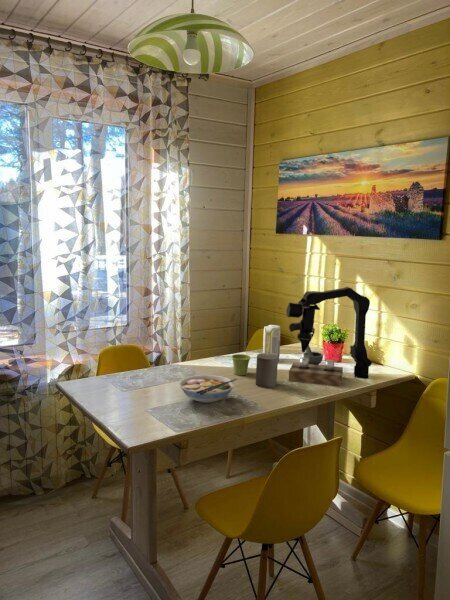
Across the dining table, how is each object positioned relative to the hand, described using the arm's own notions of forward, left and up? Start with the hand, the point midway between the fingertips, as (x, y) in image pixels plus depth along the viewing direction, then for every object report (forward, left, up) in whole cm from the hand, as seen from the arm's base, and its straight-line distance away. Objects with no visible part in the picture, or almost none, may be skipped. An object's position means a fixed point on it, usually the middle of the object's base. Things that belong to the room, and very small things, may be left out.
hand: (304, 350), depth 241 cm
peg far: (0, 0, -9) cm, 9 cm away
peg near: (-12, 0, -9) cm, 15 cm away
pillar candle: (+15, +16, -14) cm, 26 cm away
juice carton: (+20, -24, -14) cm, 34 cm away
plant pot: (+30, +4, -14) cm, 33 cm away
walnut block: (-6, 0, -13) cm, 15 cm away
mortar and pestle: (-2, -20, -14) cm, 24 cm away
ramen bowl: (+35, +44, -14) cm, 58 cm away
